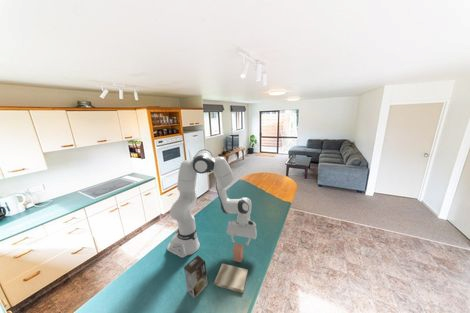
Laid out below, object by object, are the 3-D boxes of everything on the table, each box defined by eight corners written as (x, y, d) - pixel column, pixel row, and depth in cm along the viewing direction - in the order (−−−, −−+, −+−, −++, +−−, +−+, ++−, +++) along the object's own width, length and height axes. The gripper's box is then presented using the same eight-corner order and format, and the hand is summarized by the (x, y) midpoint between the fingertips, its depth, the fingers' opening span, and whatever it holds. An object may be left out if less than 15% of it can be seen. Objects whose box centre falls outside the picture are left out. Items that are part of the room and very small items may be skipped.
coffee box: (200, 278, 94) (198, 254, 90) (208, 285, 90) (205, 260, 86) (186, 291, 87) (183, 266, 83) (194, 299, 83) (191, 273, 79)
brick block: (233, 260, 105) (233, 248, 103) (235, 254, 109) (235, 243, 107) (241, 262, 103) (241, 250, 101) (243, 256, 108) (243, 244, 106)
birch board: (214, 284, 90) (214, 281, 90) (222, 266, 101) (222, 263, 101) (242, 293, 85) (242, 290, 85) (248, 272, 97) (247, 269, 96)
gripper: (227, 218, 114) (223, 240, 108) (257, 223, 108) (254, 246, 102) (229, 220, 120) (225, 241, 113) (258, 224, 114) (255, 247, 107)
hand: (239, 244), depth 107 cm, fingers open, 8 cm apart
